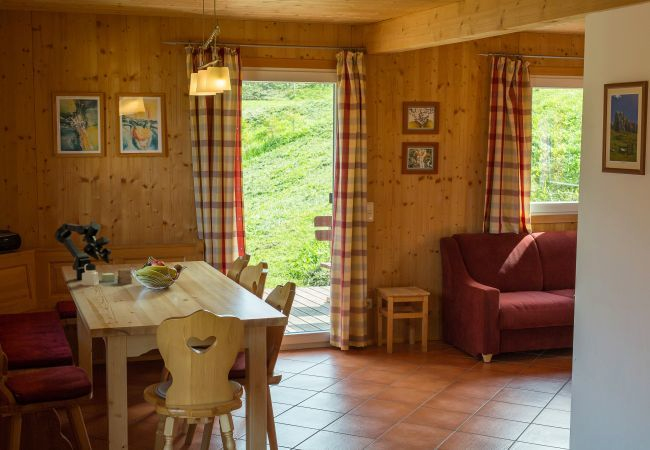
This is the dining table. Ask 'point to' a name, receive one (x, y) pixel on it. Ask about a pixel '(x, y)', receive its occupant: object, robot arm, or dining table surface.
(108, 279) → the sage block
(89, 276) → the medicine bottle
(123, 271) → the tower top
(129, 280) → the tower base
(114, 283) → the mat
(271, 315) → the dining table surface
